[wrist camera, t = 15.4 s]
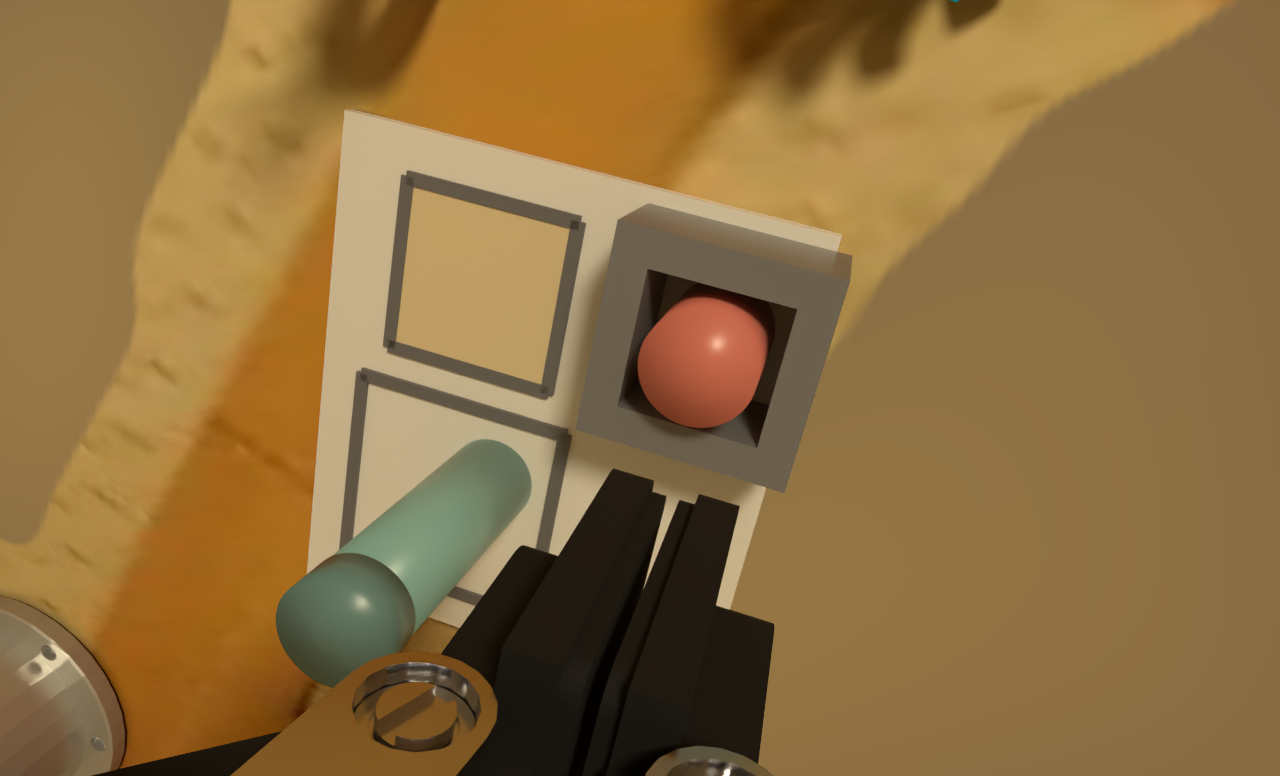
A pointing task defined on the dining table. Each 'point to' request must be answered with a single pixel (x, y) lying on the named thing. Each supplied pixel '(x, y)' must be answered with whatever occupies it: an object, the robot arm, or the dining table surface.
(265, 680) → the dining table surface
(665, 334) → the button
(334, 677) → the cylinder
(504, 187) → the cream board with squares
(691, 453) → the button collar
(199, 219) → the dining table surface
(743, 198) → the dining table surface
